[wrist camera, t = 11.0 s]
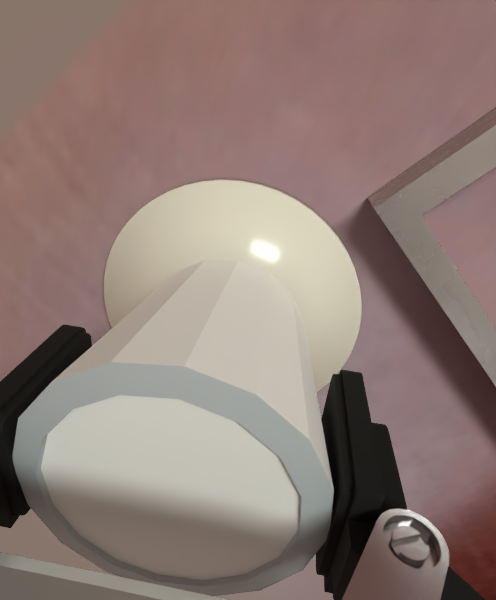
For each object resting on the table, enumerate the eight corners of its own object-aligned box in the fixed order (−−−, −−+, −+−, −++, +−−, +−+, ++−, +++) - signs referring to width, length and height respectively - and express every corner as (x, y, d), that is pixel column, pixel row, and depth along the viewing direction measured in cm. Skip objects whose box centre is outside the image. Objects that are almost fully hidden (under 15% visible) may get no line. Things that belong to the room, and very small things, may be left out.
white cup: (254, 435, 17) (223, 636, 10) (104, 348, 16) (-29, 512, 9) (364, 314, 14) (413, 492, 7) (188, 199, 13) (75, 292, 7)
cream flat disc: (411, 336, 16) (414, 341, 15) (217, 440, 19) (216, 446, 19) (248, 113, 13) (246, 113, 13) (59, 282, 17) (53, 286, 16)
